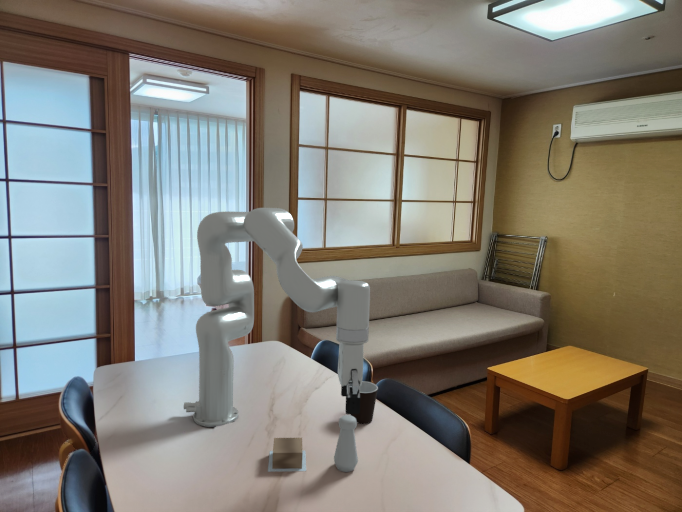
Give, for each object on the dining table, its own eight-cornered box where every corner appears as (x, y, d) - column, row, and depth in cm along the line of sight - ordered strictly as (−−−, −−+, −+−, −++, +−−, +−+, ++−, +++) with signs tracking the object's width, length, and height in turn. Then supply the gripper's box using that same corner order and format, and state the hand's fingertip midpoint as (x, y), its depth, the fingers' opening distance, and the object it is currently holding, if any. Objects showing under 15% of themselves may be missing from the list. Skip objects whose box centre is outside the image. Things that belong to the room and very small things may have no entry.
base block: (272, 468, 110) (272, 452, 110) (273, 452, 117) (274, 437, 117) (301, 468, 111) (302, 452, 111) (301, 452, 118) (302, 437, 117)
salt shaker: (332, 461, 115) (335, 411, 114) (355, 461, 116) (358, 411, 114) (334, 475, 109) (336, 423, 108) (358, 475, 110) (361, 423, 108)
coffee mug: (374, 427, 134) (375, 394, 132) (344, 423, 135) (346, 390, 134) (378, 410, 145) (380, 379, 144) (351, 406, 147) (353, 376, 145)
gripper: (333, 324, 117) (331, 390, 119) (339, 345, 100) (337, 421, 102) (362, 324, 118) (360, 389, 119) (374, 345, 100) (371, 420, 102)
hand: (349, 404), depth 111 cm, fingers open, 9 cm apart
